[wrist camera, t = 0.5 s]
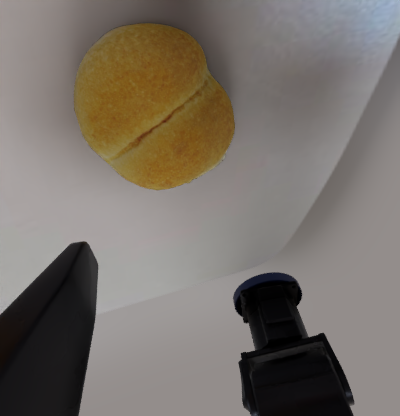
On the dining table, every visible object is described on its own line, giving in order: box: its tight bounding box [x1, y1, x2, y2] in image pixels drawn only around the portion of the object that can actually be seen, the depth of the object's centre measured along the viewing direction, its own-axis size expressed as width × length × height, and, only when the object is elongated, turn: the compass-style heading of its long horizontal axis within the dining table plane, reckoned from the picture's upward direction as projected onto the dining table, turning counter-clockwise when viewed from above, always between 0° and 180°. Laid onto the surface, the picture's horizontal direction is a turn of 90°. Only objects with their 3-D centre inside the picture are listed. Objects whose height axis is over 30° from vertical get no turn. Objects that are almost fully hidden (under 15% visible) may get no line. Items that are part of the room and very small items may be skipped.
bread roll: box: [74, 23, 235, 190], centre depth 17 cm, size 8×9×4 cm
